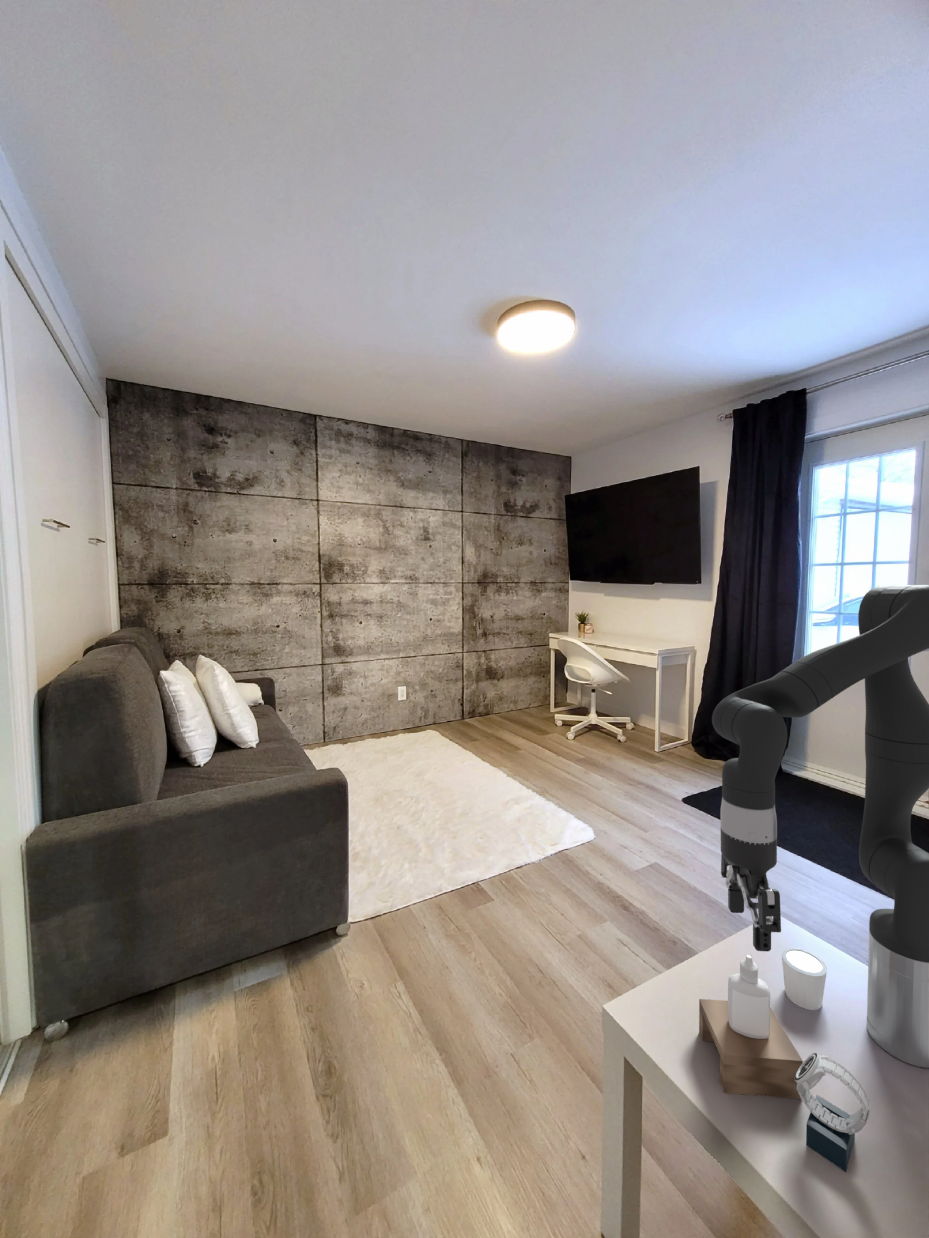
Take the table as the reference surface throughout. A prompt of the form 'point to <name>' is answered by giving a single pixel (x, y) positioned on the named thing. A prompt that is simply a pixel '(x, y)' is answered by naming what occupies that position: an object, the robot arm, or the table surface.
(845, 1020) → the table surface
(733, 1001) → the eye dropper bottle
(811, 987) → the white oval container
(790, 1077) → the brown wooden block
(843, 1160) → the watch
